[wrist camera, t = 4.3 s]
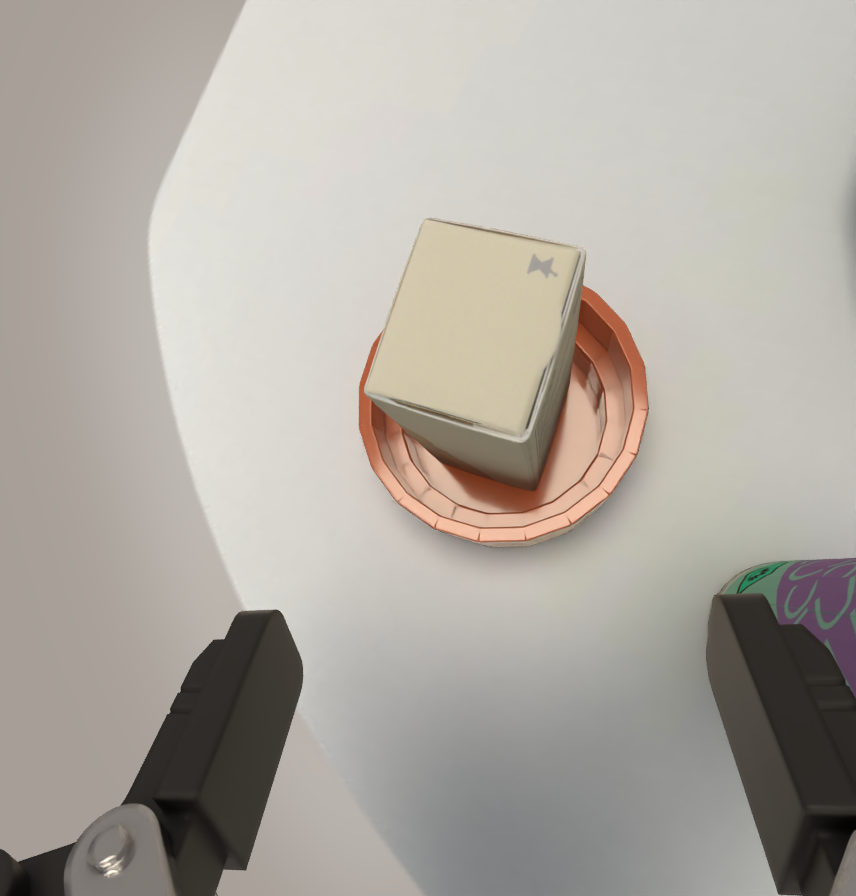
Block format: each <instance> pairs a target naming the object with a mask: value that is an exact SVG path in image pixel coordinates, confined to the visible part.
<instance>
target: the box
mask: <svg viewBox="0 0 856 896" xmlns="http://www.w3.org/2000/svg"><path fill="white" fill-rule="evenodd" d="M585 259H586V251H585V249H584V248H582V247H579V246H573V245H569V244H564V243H559V242H554V241H550V240H546V239H542V238H537V237H532V236H527V235H522V234H517V233H512V232H507V231H502V230H497V229H492V228H485V227H481V226H476V225H470V224H464V223H458V222H452V221H446V220H441V219H436V218H426V219H424V221H423V222H422V224H421V227H420V229H419V232H418V235H417V237H416V239H415V242H414V245H413V248H412V250H411V253H410V256H409V258H408V260H407V263H406V266H405V269H404V272H403V274H402V277H401V280H400V283H399V285H398V288H397V291H396V294H395V297H394V299H393V302H392V306H391V309H390V312H389V314H388V317H387V320H386V323H385V326H384V329H383V332H382V335H381V338H380V341H379V344H378V347H377V350H376V353H375V356H374V359H373V362H372V366H371V369H370V372H369V375H368V378H367V381H366V384H365V386H364V393H365V395H366V396H367V397H368V398H369V399H371V400H372V401H373V402H374V403H375V404H376V405H377V406H378V407H379V408H381V409H382V410H383V411H384V412H385V413H386V414H387V415H388V416H389V417H391V418H392V419H393V420H394V421H395V422H396V423H397V424H398V425H400V426H401V427H402V428H403V429H404V430H405V431H406V432H407V433H408V434H409V435H411V436H412V437H413V438H414V439H415V440H416V441H418V442H419V443H420V444H421V445H422V446H423V447H424V448H425V449H426V450H427V451H428V452H429V453H430V454H432V455H433V456H434V457H435V458H436V459H437V460H438V461H439V462H441V463H443V464H446V465H449V466H452V467H455V468H458V469H460V470H463V471H466V472H469V473H472V474H475V475H478V476H481V477H484V478H487V479H491V480H494V481H497V482H500V483H503V484H507V485H510V486H514V487H517V488H521V489H524V490H528V491H535V490H536V489H537V487H538V485H539V482H540V479H541V476H542V474H543V471H544V468H545V465H546V462H547V459H548V456H549V453H550V450H551V446H552V443H553V440H554V437H555V433H556V430H557V426H558V423H559V419H560V416H561V413H562V409H563V406H564V402H565V399H566V395H567V391H568V387H569V384H570V379H571V369H572V362H573V355H574V348H575V341H576V334H577V326H578V318H579V311H580V302H581V295H582V286H583V278H584V268H585Z"/></svg>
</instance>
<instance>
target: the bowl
mask: <svg viewBox="0 0 856 896" xmlns="http://www.w3.org/2000/svg"><path fill="white" fill-rule="evenodd" d="M382 332H383V331H382ZM382 332H381V333H380V335H379V336H378V338H377V339H376V341H375V342H374V343H373V346H372V348H371V351H370V354H369V357H368V360H367V363H366V366H365V369H364V372H363V375H362V378H361V381H360V386H359V430H360V433H361V436H362V439H363V442H364V445H365V449H366V452H367V455H368V458H369V461H370V464H371V467H372V469H373V470H374V472H375V473H376V475H377V476H378V477H379V479H380V480H381V481H382V483H383V484H384V486H385V487H386V488H387V490H388V491H389V492H390V494H391V495H392V496H393V498H394V499H395V501H396V502H398V504H399V505H401V506H402V507H404V508H405V509H406V510H408V511H409V512H411V513H412V514H414V515H415V516H416V517H418V518H419V519H421V520H422V521H423V522H425V523H426V524H428V525H429V526H430V527H432V528H434V529H436V530H438V531H441V532H443V533H446V534H449V535H451V536H454V537H457V538H461V539H464V540H467V541H470V542H474V543H477V544H480V545H484V546H489V547H522V546H529V545H530V546H532V545H535V544H537V543H540V542H543V541H546V540H549V539H552V538H554V537H557V536H560V535H563V534H566V533H567V532H570V531H571V530H572V529H573V528H575V527H576V526H577V525H579V524H580V523H581V522H583V521H584V520H585V519H586V518H588V517H589V516H590V515H592V514H593V513H594V512H595V511H597V510H598V509H599V508H600V507H601V506H602V505H603V504H604V502H605V501H606V500H607V499H608V498H609V497H610V496H611V494H612V493H613V491H614V490H615V488H616V487H617V485H618V484H619V482H620V481H621V479H622V478H623V476H624V475H625V473H626V472H627V470H628V469H629V467H630V466H631V464H632V463H633V461H634V460H635V458H636V455H637V454H638V451H639V447H640V443H641V439H642V435H643V431H644V427H645V424H646V420H647V416H648V409H649V406H648V395H647V384H646V372H645V366H644V362H643V360H642V358H641V356H640V353H639V351H638V349H637V347H636V345H635V342H634V340H633V338H632V336H631V334H630V331H629V329H628V327H627V325H625V322H624V321H623V320H622V319H621V318H620V317H619V316H618V315H617V314H616V313H615V312H614V311H613V310H612V309H611V308H610V307H609V306H608V305H607V304H606V302H605V301H604V300H603V299H602V298H601V297H600V296H599V295H598V294H597V293H595V292H594V291H592V290H591V289H589V288H587V287H585V286H582V295H581V302H580V311H579V318H578V326H577V334H576V341H575V348H574V355H573V362H572V369H571V379H570V384H569V387H568V391H567V395H566V399H565V402H564V406H563V409H562V413H561V416H560V419H559V423H558V426H557V430H556V433H555V437H554V440H553V443H552V446H551V450H550V453H549V456H548V459H547V462H546V465H545V468H544V471H543V474H542V476H541V479H540V482H539V485H538V487H537V489H536V490H535V491H528V490H524V489H521V488H517V487H514V486H510V485H507V484H503V483H500V482H497V481H494V480H491V479H487V478H484V477H481V476H478V475H475V474H472V473H469V472H466V471H463V470H460V469H458V468H455V467H452V466H449V465H446V464H443V463H441V462H439V461H438V460H437V459H436V458H435V457H434V456H433V455H432V454H430V453H429V452H428V451H427V450H426V449H425V448H424V447H423V446H422V445H421V444H420V443H419V442H418V441H416V440H415V439H414V438H413V437H412V436H411V435H409V434H408V433H407V432H406V431H405V430H404V429H403V428H402V427H401V426H400V425H398V424H397V423H396V422H395V421H394V420H393V419H392V418H391V417H389V416H388V415H387V414H386V413H385V412H384V411H383V410H382V409H381V408H379V407H378V406H377V405H376V404H375V403H374V402H373V401H372V400H371V399H369V398H368V397H367V396H366V395H365V393H364V386H365V384H366V381H367V378H368V375H369V372H370V369H371V366H372V362H373V359H374V356H375V353H376V350H377V347H378V344H379V341H380V338H381V335H382Z"/></svg>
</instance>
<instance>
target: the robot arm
mask: <svg viewBox="0 0 856 896" xmlns="http://www.w3.org/2000/svg"><path fill="white" fill-rule="evenodd" d="M706 661H707V670H708V676H709V680H710V684H711V688H712V691H713V694H714V697H715V700H716V703H717V706H718V709H719V712H720V716H721V719H722V722H723V725H724V728H725V731H726V734H727V737H728V740H729V743H730V746H731V749H732V753H733V756H734V759H735V762H736V765H737V768H738V771H739V774H740V777H741V780H742V783H743V786H744V790H745V793H746V796H747V799H748V802H749V805H750V808H751V811H752V814H753V817H754V820H755V823H756V826H757V830H758V833H759V836H760V839H761V842H762V845H763V848H764V851H765V854H766V857H767V860H768V863H769V867H770V870H771V873H772V876H773V879H774V882H775V885H776V888H777V891H778V894H779V895H802V896H856V698H855V696H854V694H853V692H852V691H851V689H850V687H849V686H847V685H846V679H845V678H844V676H843V674H842V672H841V670H840V668H839V666H838V665H837V663H836V661H835V659H834V657H833V655H832V653H831V652H830V650H829V649H828V648H827V647H826V646H825V645H824V644H823V643H822V642H821V641H820V640H819V639H818V638H816V637H815V636H814V635H813V634H812V633H811V632H810V631H809V630H808V629H807V628H806V627H805V626H803V625H802V624H783V625H779V623H778V620H777V618H776V616H775V614H774V612H773V610H772V608H771V606H770V604H769V602H768V600H767V598H766V597H765V596H764V595H763V594H762V593H742V594H716V595H714V597H713V600H712V608H711V616H710V624H709V632H708V640H707V648H706ZM302 683H303V665H302V660H301V657H300V654H299V652H298V650H297V647H296V645H295V642H294V640H293V638H292V635H291V633H290V631H289V628H288V626H287V624H286V621H285V619H284V616H283V615H282V613H281V612H280V611H279V610H256V611H241V612H239V613H238V614H237V615H236V616H235V618H234V620H233V622H232V624H231V626H230V628H229V631H228V633H227V635H226V637H225V639H224V640H223V639H221V640H213V641H212V642H211V643H210V644H209V646H208V647H207V648H206V649H205V650H204V651H203V652H202V653H201V654H200V655H199V656H198V657H197V659H196V660H195V661H194V662H193V663H192V665H191V668H190V670H189V672H188V674H187V676H186V678H185V680H184V682H183V684H182V686H181V692H180V693H178V694H177V696H176V698H175V700H174V702H173V704H172V706H171V708H170V710H171V712H170V714H167V716H166V718H165V721H164V722H163V724H162V726H161V728H160V730H159V732H158V735H157V736H156V738H155V741H154V742H153V745H152V746H151V749H150V751H149V753H148V755H147V757H146V759H145V761H144V763H143V765H142V767H141V769H140V771H139V773H138V775H137V777H136V779H135V781H134V783H133V785H132V787H131V789H130V791H129V793H128V795H127V796H126V798H125V800H124V801H123V803H122V804H121V806H119V807H116V808H114V809H112V810H110V811H108V812H106V813H105V814H103V815H102V816H100V817H99V818H98V819H96V820H95V821H94V822H93V823H92V824H91V825H90V826H89V827H88V828H87V829H86V830H85V831H84V832H83V833H82V835H81V836H80V837H79V839H78V840H77V842H75V843H72V844H70V845H67V846H64V847H61V848H58V849H55V850H52V851H49V852H46V853H43V854H40V855H37V856H34V857H31V858H28V859H25V860H22V861H19V862H17V861H16V860H14V859H13V858H12V857H11V856H10V855H9V854H8V853H6V852H5V851H4V850H1V849H0V896H218V895H217V893H216V890H217V887H218V884H219V881H220V878H221V875H222V871H223V869H226V870H246V869H247V865H248V862H249V859H250V856H251V852H252V849H253V846H254V842H255V839H256V836H257V832H258V829H259V826H260V823H261V819H262V816H263V813H264V810H265V807H266V803H267V800H268V797H269V793H270V790H271V787H272V784H273V780H274V777H275V774H276V771H277V768H278V764H279V761H280V758H281V755H282V751H283V748H284V745H285V741H286V738H287V735H288V732H289V728H290V725H291V722H292V719H293V715H294V712H295V709H296V706H297V702H298V699H299V696H300V693H301V689H302Z"/></svg>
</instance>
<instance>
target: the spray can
mask: <svg viewBox="0 0 856 896" xmlns="http://www.w3.org/2000/svg"><path fill="white" fill-rule="evenodd" d="M742 593H762V594H763V595H764V596H765V597H766V598H767V600H768V602H769V604H770V606H771V608H772V610H773V612H774V614H775V616H776V618H777V620H778V623H779V625H783V624H802V625H803V626H805V627H806V628H807V629H808V630H809V631H810V632H811V633H812V634H813V635H814V636H815V637H816V638H818V639H819V640H820V641H821V642H822V643H823V644H824V645H825V646H826V647H827V648H828V649H829V650H830V652H831V653H832V655H833V657H834V659H835V661H836V663H837V665H838V666H839V668H840V670H841V672H842V674H843V676H844V678H845V679H846V685H847V686H849V687H850V689H851V691H852V692H853V694H854V696H855V698H856V558H846V559H823V560H801V561H781V562H772V563H765V564H761V565H758V566H755V567H752V568H749V569H747V570H745V571H743V572H741V573H740V574H738V575H736V576H735V577H734V578H733V579H731V580H730V581H729V582H728V583H727V584H726V585H725V586H724V587H723V589H722V590H721V591H720V593H719V594H742ZM710 616H711V612H710ZM709 624H710V617H709V623H708V632H709Z"/></svg>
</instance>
